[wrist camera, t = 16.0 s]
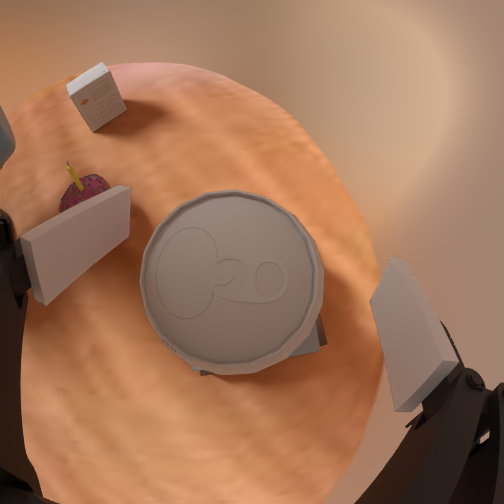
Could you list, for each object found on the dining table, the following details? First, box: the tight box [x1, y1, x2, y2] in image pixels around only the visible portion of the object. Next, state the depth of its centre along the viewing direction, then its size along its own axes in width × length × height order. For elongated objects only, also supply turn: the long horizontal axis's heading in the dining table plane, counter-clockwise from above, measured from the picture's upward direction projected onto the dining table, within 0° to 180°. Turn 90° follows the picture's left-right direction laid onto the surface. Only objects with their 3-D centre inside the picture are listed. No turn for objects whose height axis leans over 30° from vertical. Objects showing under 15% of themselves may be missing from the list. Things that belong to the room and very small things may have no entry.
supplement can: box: [139, 190, 324, 375], centre depth 17 cm, size 8×8×15 cm
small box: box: [66, 62, 127, 132], centre depth 37 cm, size 8×6×10 cm
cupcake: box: [59, 161, 111, 213], centre depth 30 cm, size 9×8×12 cm
